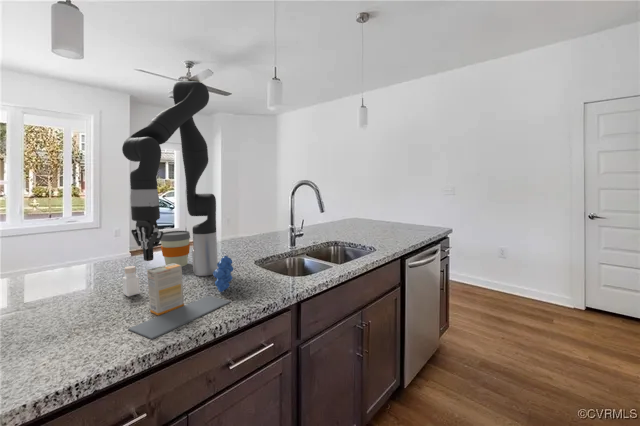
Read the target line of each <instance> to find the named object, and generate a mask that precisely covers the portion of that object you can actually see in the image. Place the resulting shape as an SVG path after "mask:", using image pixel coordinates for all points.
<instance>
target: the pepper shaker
mask: <svg viewBox="0 0 640 426" xmlns="http://www.w3.org/2000/svg"><path fill="white" fill-rule="evenodd" d="M136 267H137V266H135V265H129V266H125V267H124V274H125V276H123V277H122V288H123V289H122V290H123V294H124V295H125V296H127V297H133V296H136V295H139V294H140V293H141V291H140V277H139V275H137V274H136V273H137V271H136Z"/></svg>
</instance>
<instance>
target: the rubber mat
mask: <svg viewBox="0 0 640 426" xmlns="http://www.w3.org/2000/svg"><path fill="white" fill-rule="evenodd" d="M230 303H231V300H229V299H224V298H220V297H216V296H212V295H207V296H204V297H201V298H199V299H197V300H194V301H192V302H190V303H187V304H184V306H182V307H180V308H177V309H175V310H172V311H169V312H166V313H164V314H161V315H159V316H158V315H157V316H155V317H153V318H151V319H149V320H146V321H143V322H141V323H138V324H136V325H134V326H131V327H129V328H128V331H130V332H132V333H135V334H137V335H140V336H142V337H145V338H147V339H150V340H154V339H156V338H158V337H161V336H163V335H165V334H167V333H169V332H171V331H173V330H175V329H177V328H180V327H181V326H183V325H185V324H188V323H190V322H192V321H194V320H196V319H199V318H201V317H203V316H205V315H207V314H209V313H211V312H213V311H215V309H216V310H217V308H218V309H220V308H221V307H224V306H227V305H228V304H230ZM219 307H220V308H219Z"/></svg>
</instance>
